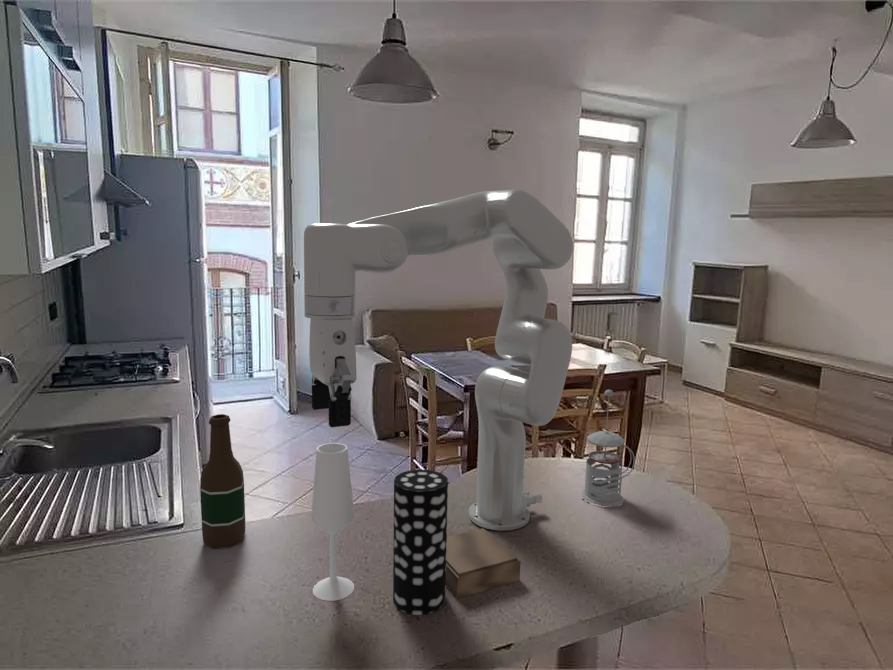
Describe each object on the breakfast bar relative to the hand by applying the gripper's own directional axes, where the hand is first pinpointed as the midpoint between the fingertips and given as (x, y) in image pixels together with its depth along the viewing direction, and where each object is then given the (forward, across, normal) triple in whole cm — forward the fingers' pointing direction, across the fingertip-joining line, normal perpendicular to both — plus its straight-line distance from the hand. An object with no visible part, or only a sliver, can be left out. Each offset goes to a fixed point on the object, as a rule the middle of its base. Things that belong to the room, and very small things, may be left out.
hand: (330, 416), depth 91 cm
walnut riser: (+29, -5, -23) cm, 38 cm away
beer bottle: (+29, +24, +14) cm, 40 cm away
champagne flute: (+29, 0, 0) cm, 29 cm away
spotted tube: (+29, -8, -12) cm, 33 cm away
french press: (+29, +8, -65) cm, 72 cm away
